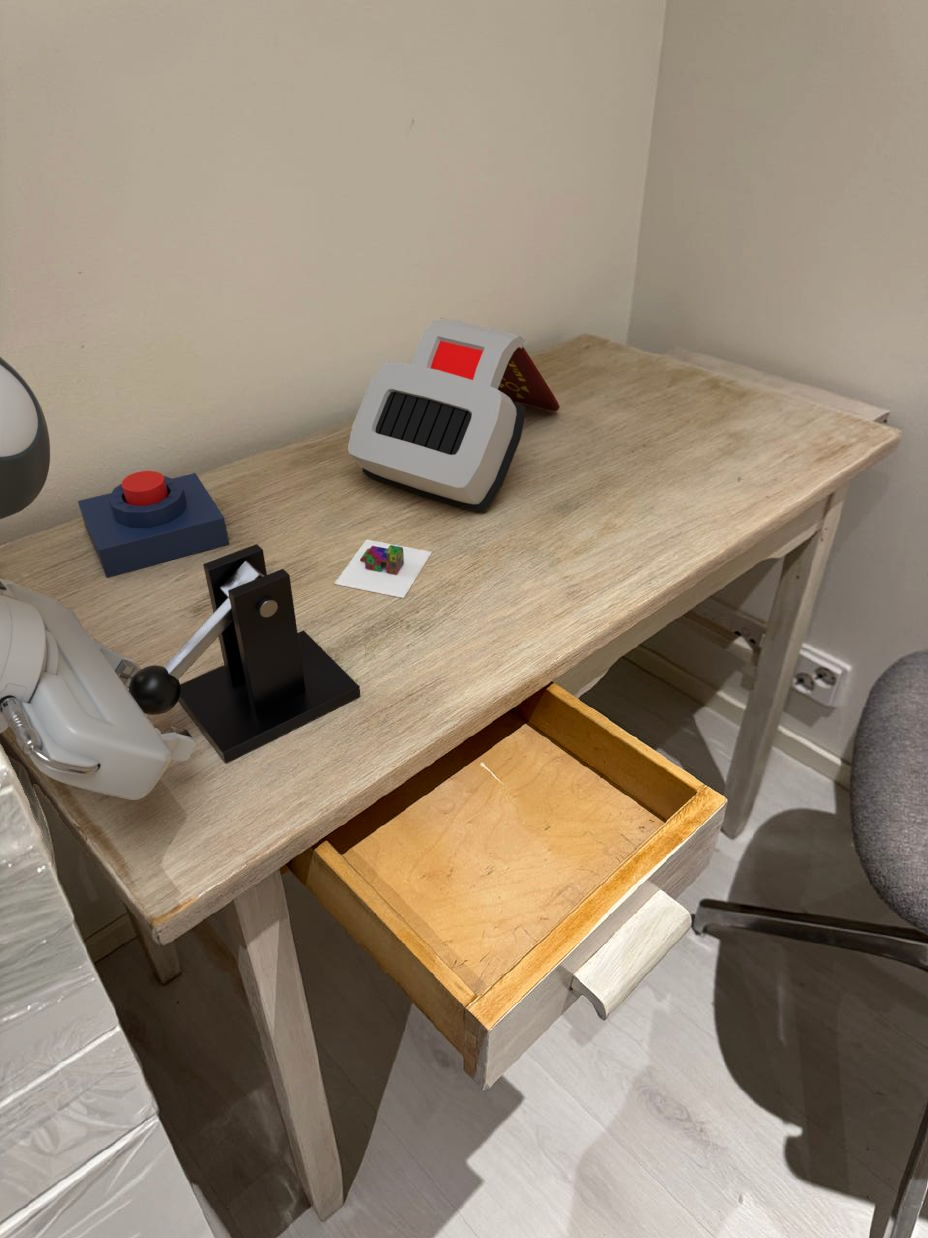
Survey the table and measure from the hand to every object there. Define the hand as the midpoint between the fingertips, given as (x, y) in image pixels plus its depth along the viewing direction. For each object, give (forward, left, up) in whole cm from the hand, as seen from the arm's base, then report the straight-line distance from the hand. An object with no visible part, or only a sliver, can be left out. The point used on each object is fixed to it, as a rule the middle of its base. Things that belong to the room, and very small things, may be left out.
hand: (161, 709), depth 66 cm
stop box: (+6, +30, -4) cm, 30 cm away
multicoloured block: (+24, +14, -4) cm, 28 cm away
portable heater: (+43, +30, -4) cm, 53 cm away
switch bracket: (+8, +2, -4) cm, 9 cm away
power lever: (+5, +1, +3) cm, 6 cm away
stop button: (+6, +30, +1) cm, 30 cm away
